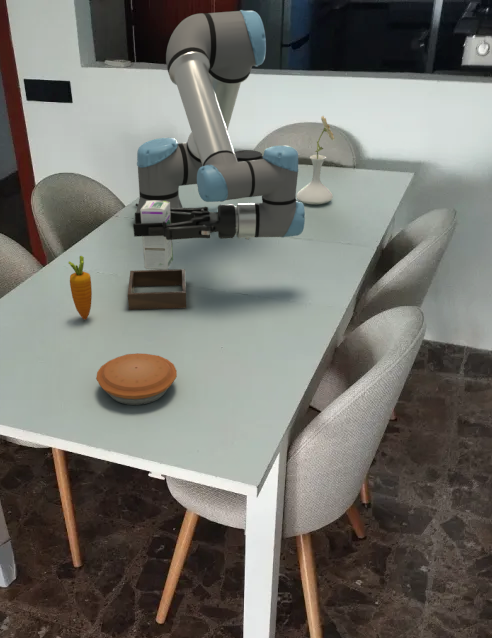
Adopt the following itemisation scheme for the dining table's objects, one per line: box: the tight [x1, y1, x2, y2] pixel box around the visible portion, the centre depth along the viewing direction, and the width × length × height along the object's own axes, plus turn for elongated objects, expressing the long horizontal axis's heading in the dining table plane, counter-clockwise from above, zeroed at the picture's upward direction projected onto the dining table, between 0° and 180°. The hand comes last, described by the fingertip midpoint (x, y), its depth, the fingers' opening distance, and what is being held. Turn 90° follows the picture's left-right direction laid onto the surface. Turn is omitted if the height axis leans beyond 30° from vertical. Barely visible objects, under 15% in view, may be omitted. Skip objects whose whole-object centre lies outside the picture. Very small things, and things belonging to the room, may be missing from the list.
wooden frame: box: [127, 268, 187, 311], centre depth 169 cm, size 14×14×4 cm
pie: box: [95, 353, 178, 406], centre depth 136 cm, size 15×16×5 cm
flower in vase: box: [296, 115, 335, 205], centre depth 216 cm, size 13×11×25 cm
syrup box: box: [140, 200, 174, 270], centre depth 162 cm, size 6×6×14 cm
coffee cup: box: [234, 149, 263, 162], centre depth 230 cm, size 11×11×12 cm
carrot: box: [67, 255, 93, 321], centre depth 157 cm, size 5×5×15 cm
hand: (134, 224), depth 160 cm, fingers closed on syrup box, 6 cm apart
